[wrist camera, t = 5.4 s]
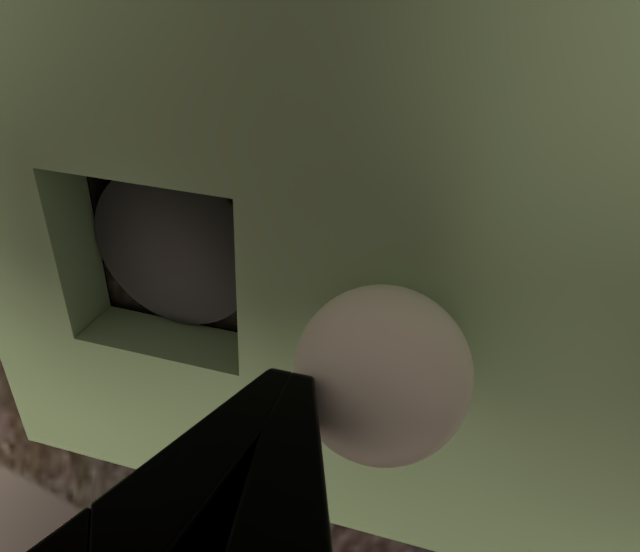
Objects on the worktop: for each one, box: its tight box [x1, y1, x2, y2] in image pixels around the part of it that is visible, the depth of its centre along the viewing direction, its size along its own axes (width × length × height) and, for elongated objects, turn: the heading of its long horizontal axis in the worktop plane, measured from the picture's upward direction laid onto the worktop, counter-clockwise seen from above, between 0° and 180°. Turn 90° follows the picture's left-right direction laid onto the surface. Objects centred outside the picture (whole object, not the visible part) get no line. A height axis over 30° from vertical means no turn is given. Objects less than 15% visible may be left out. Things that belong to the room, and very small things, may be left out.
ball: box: [293, 284, 475, 468], centre depth 9 cm, size 3×3×3 cm
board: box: [0, 0, 640, 552], centre depth 11 cm, size 18×14×2 cm
